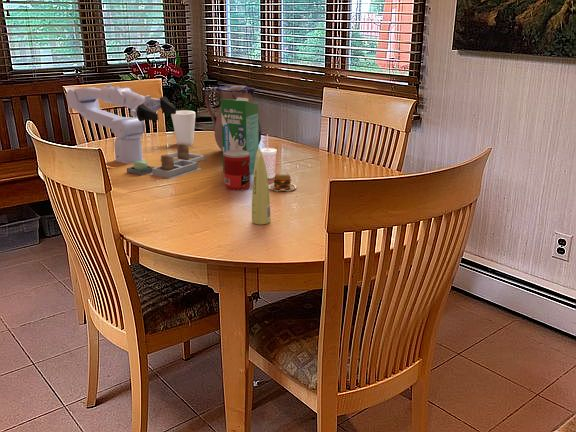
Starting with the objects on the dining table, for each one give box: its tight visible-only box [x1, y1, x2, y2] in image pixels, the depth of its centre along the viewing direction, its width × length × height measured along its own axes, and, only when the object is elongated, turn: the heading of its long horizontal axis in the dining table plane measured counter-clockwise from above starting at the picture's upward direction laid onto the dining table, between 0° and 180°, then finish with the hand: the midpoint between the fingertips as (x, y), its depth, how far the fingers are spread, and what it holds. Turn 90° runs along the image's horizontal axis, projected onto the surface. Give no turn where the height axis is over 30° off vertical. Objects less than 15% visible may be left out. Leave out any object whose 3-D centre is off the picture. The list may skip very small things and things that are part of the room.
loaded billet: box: [160, 153, 175, 171], centre depth 189 cm, size 4×4×6 cm
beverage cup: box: [260, 134, 278, 179], centre depth 189 cm, size 6×6×14 cm
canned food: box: [223, 150, 251, 191], centre depth 178 cm, size 8×8×11 cm
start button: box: [132, 160, 149, 171], centre depth 191 cm, size 4×4×3 cm
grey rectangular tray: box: [149, 160, 202, 180], centre depth 193 cm, size 10×15×3 cm, turn 147°
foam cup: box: [170, 109, 197, 146], centre depth 233 cm, size 10×9×13 cm
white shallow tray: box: [170, 151, 207, 163], centre depth 208 cm, size 13×10×2 cm
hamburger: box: [268, 172, 297, 192], centre depth 178 cm, size 12×12×6 cm
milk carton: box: [220, 97, 260, 175], centre depth 192 cm, size 9×9×25 cm
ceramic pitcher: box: [204, 85, 262, 152], centre depth 217 cm, size 18×21×25 cm
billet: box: [176, 143, 190, 160], centre depth 207 cm, size 4×4×6 cm
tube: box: [251, 146, 271, 226], centre depth 148 cm, size 6×5×20 cm
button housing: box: [126, 165, 156, 176], centre depth 192 cm, size 6×6×2 cm
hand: (166, 114), depth 189 cm, fingers open, 7 cm apart
